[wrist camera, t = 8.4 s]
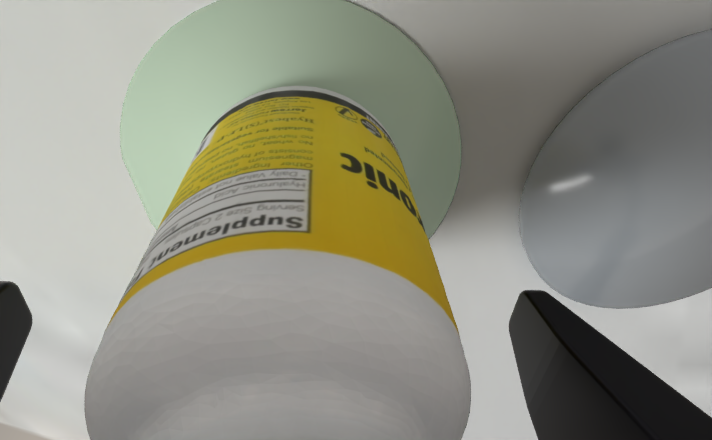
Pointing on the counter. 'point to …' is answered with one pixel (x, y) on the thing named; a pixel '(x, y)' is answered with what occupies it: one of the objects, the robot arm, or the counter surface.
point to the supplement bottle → (285, 293)
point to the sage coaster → (278, 69)
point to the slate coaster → (629, 185)
